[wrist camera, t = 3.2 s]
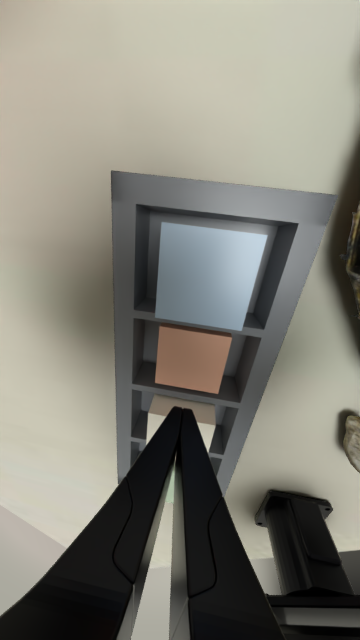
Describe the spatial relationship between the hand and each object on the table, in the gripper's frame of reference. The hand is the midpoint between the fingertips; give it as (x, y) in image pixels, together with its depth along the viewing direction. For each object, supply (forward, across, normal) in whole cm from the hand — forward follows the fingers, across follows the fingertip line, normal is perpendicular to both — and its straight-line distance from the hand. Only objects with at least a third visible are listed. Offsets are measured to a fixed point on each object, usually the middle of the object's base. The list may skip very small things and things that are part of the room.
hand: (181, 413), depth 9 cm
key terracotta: (+7, 0, 0) cm, 7 cm away
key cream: (+5, 0, +6) cm, 8 cm away
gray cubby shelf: (+7, 0, +3) cm, 8 cm away
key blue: (+5, 0, -5) cm, 7 cm away
